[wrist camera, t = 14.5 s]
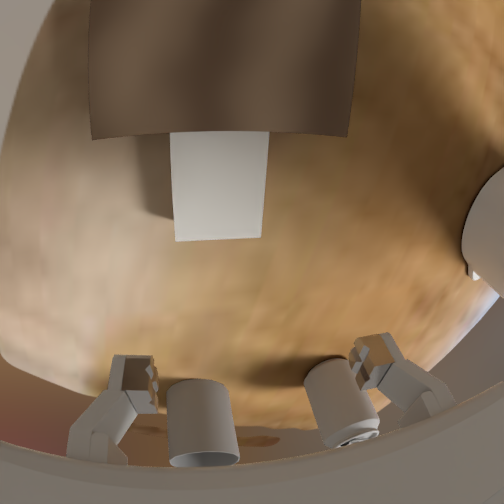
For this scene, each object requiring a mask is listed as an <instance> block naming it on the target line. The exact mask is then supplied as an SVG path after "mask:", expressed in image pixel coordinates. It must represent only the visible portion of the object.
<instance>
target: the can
mask: <svg viewBox="0 0 504 504" xmlns="http://www.w3.org/2000/svg"><path fill="white" fill-rule="evenodd" d="M355 377H356V373H354V372H353V371H351V368H350V366H349V360H345V359H341V358H334V359H329V360H326V361H324V362H321V363H320V364H318V365H316V366H315V367H314V368H312V369H311V370H310V372H309V373H308V375H307V377H306V378H305V380H304V387H305V389H306V392H307V395H308V398H309V401H310V404H311V407H312V410H313V413H314V416H315V419H316V422H317V425H318V428H319V430H320V434H321V437H322V440H323V443H324V445H326V446H328V447H330V448H332V449H335V448H339V447H343V446H346V445H350V444H354V443H357V442H361V441H364V440H368V439H371V438H374V437H377V436H378V434H379V431H378V430H377V427H378V425H379V422H380V420H379V417H378V415H377V413H376V411H375V408H374V406H373V404H372V402H371V400H370V397H369V395H368V393H367V391H366V390H363V391H360V389H359V387H358V385H357V382H356V380H355Z"/></svg>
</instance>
